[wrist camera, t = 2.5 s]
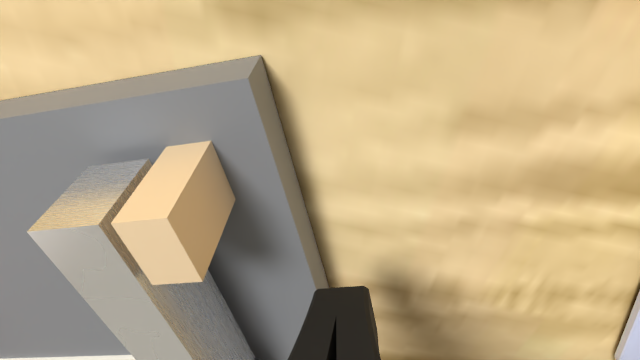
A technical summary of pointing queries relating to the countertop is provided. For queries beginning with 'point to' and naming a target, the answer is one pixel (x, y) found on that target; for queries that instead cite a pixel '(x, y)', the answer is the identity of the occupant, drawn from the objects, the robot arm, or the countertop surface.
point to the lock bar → (132, 275)
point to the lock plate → (159, 205)
